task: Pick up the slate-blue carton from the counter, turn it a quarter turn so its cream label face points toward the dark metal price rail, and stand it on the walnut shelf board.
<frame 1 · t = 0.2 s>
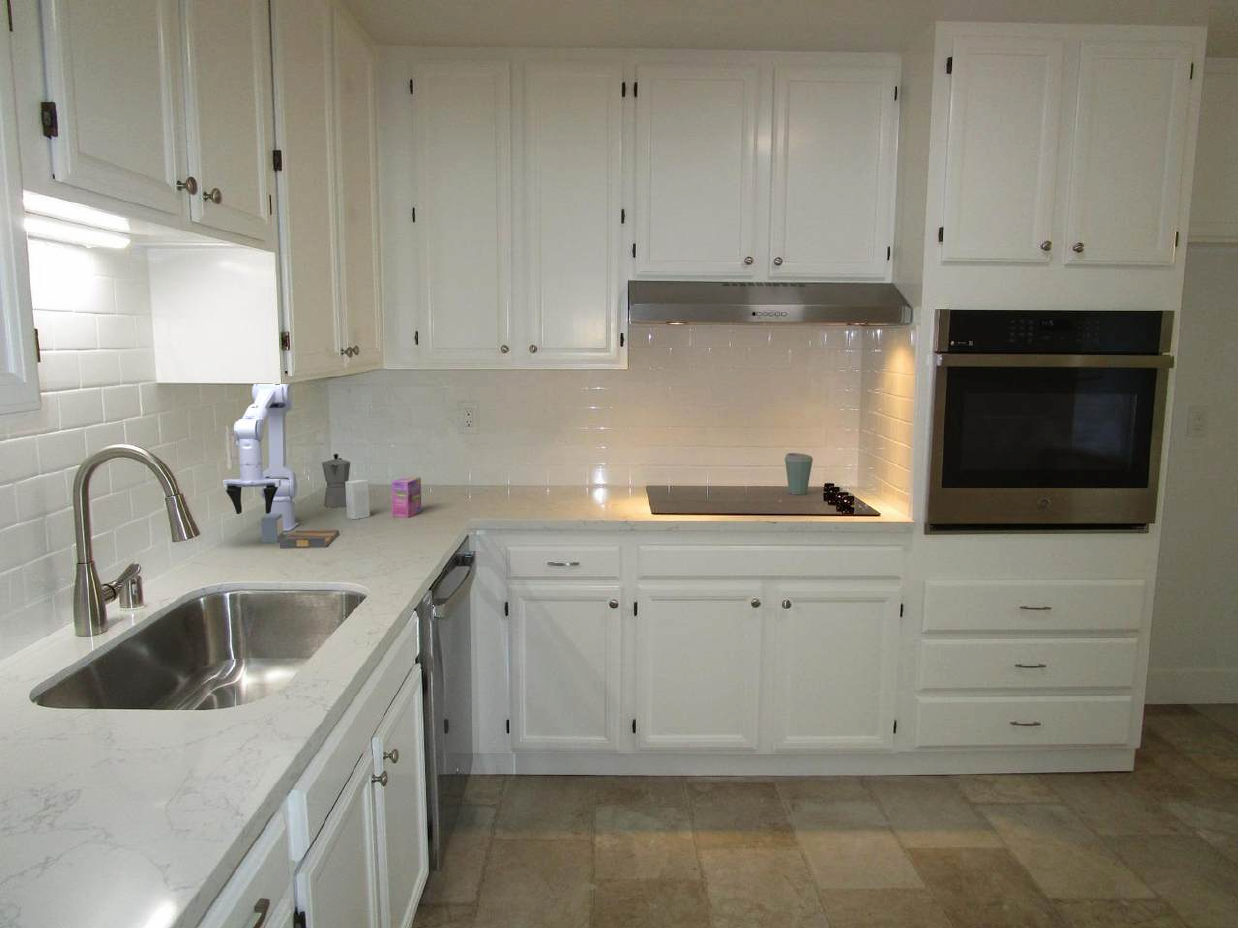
hand: (253, 513, 233), 10 cm above the countertop, tool pointing down, fingers open, 7 cm apart
coffeepot: (338, 505, 297), on the countertop
carton: (273, 539, 244), on the countertop
box: (407, 515, 281), on the countertop
shelf board: (311, 540, 244), on the countertop
skincare box: (358, 518, 276), on the countertop
disposable coffee cup: (797, 494, 325), on the countertop
price rail: (303, 547, 235), on the countertop
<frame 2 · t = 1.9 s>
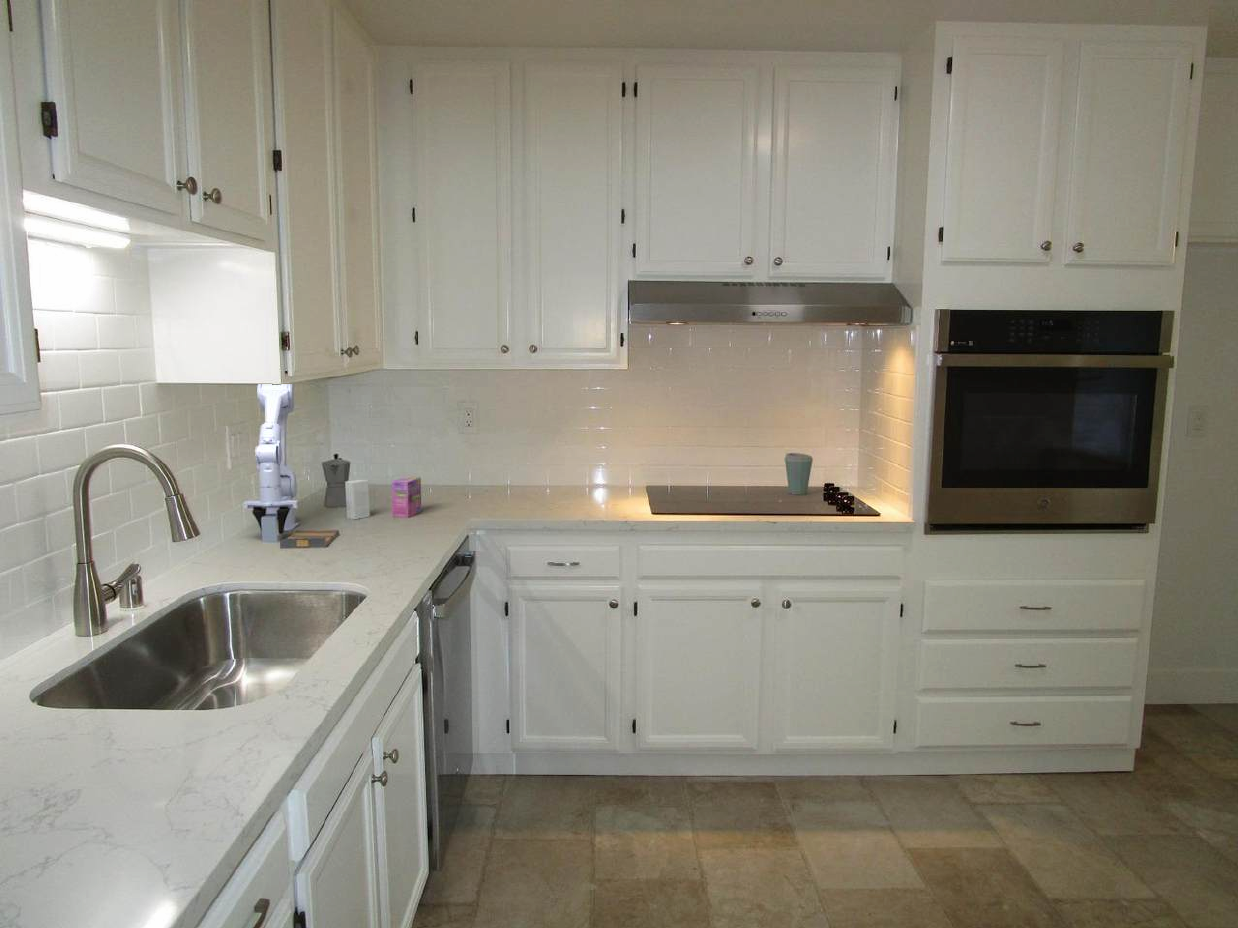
hand: (272, 533, 244), 2 cm above the countertop, tool pointing down, fingers closed on carton, 4 cm apart
carton: (272, 539, 244), on the countertop, touching gripper
everything else where it was.
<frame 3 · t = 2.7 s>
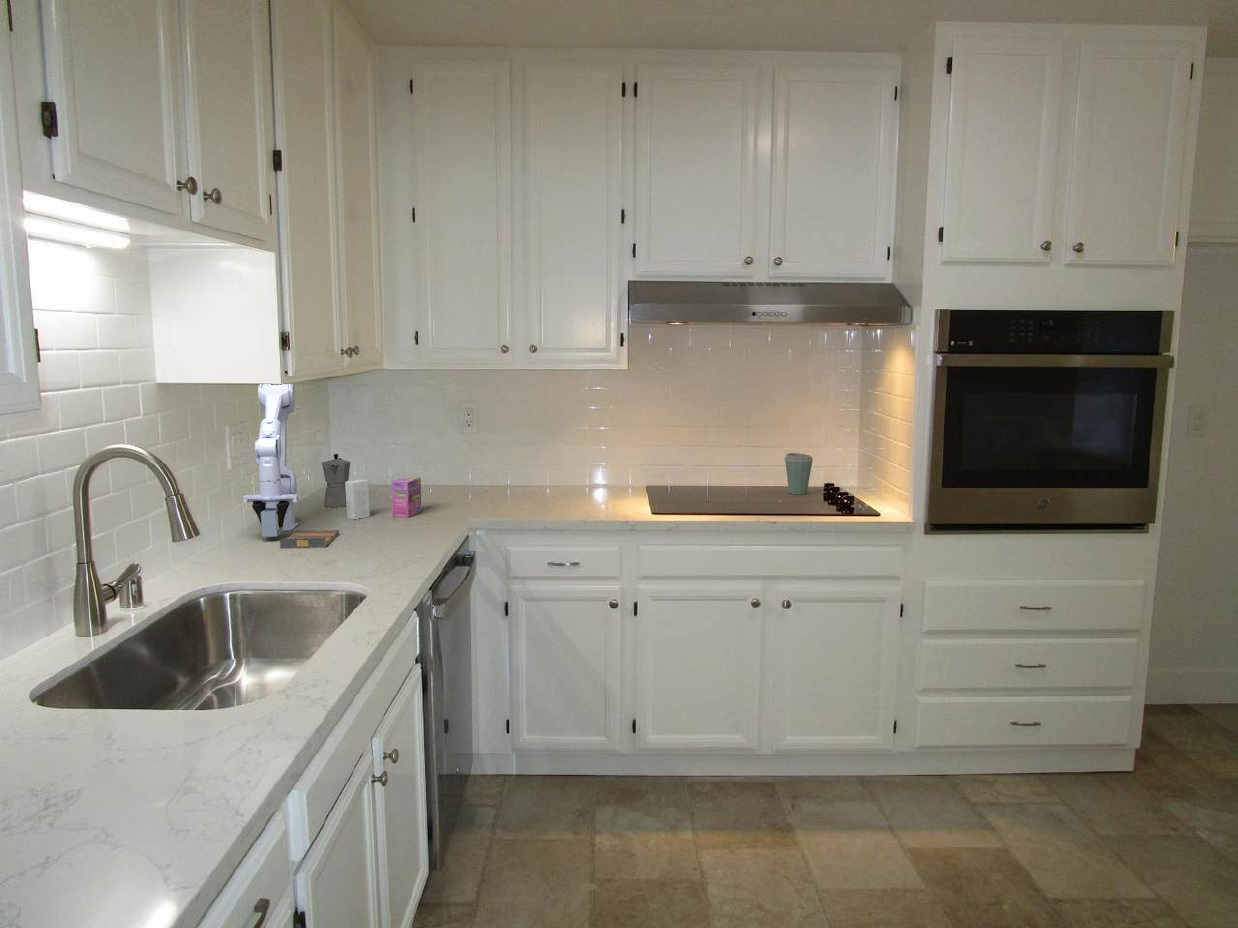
hand: (272, 527, 244), 4 cm above the countertop, tool pointing down, fingers closed on carton, 4 cm apart
carton: (272, 534, 244), point 2 cm above the countertop, touching gripper
everything else where it was.
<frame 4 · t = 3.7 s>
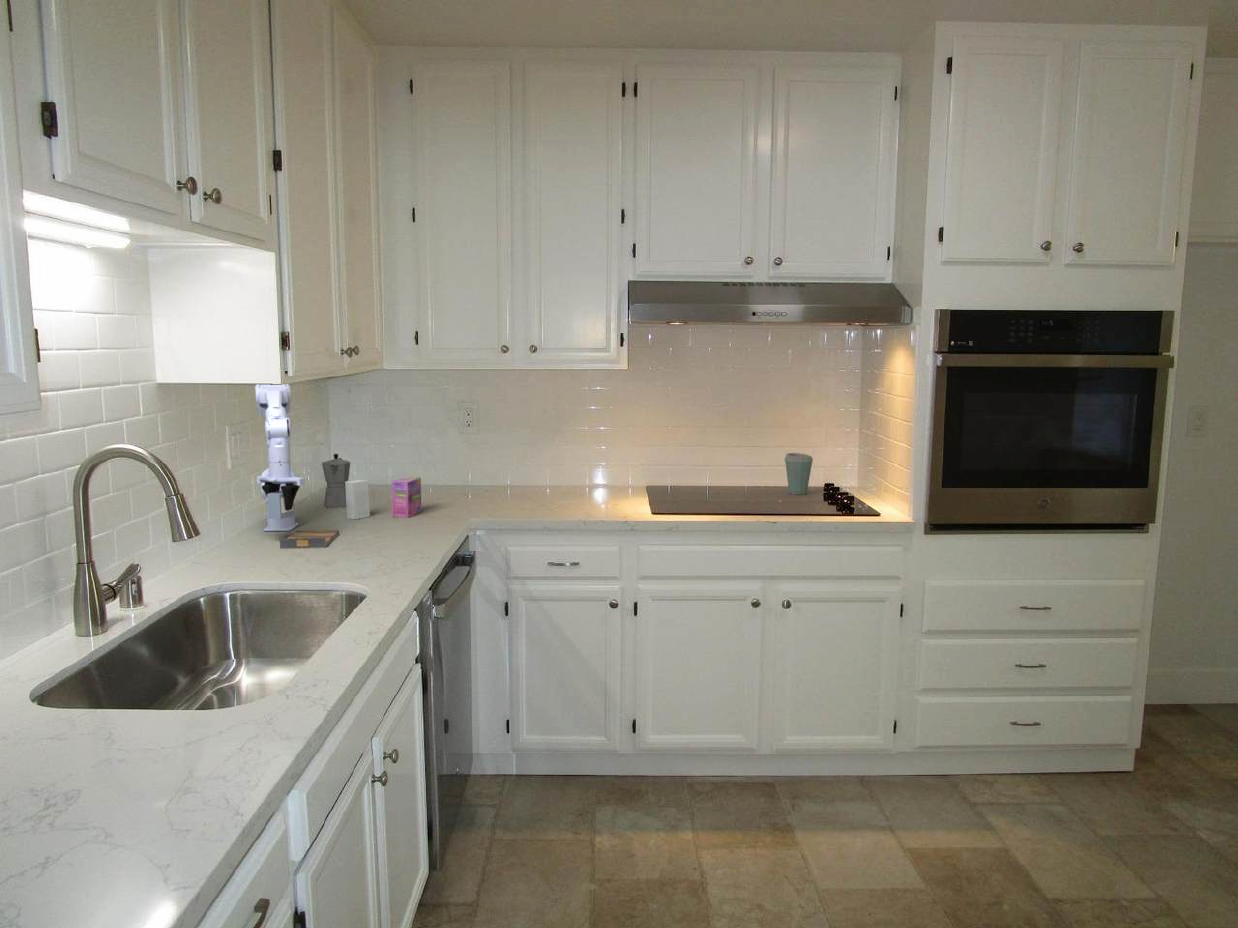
hand: (281, 509, 243), 9 cm above the countertop, tool pointing down, fingers closed on carton, 4 cm apart
carton: (281, 516, 243), point 7 cm above the countertop, touching gripper
everything else where it was.
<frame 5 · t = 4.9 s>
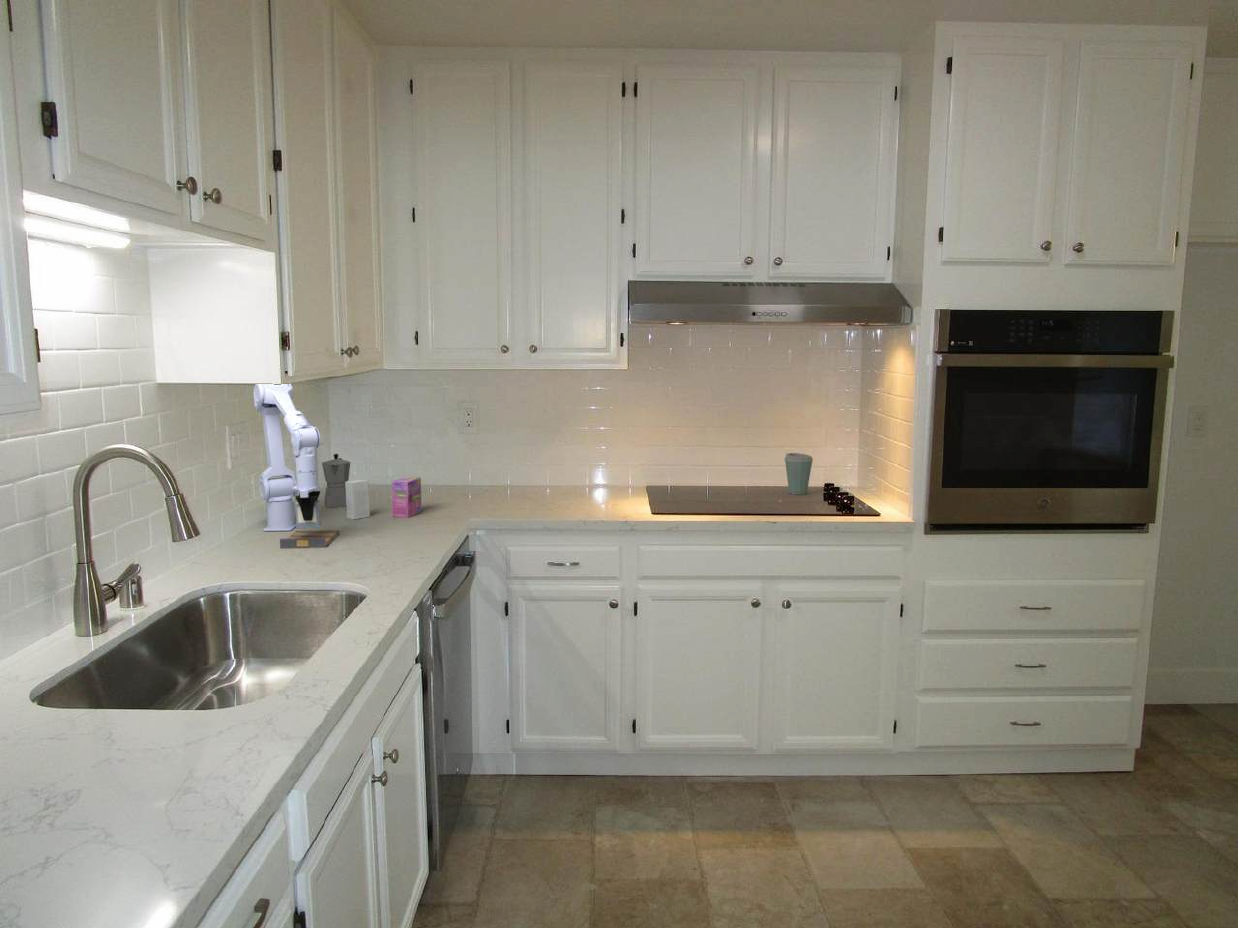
hand: (309, 518, 242), 7 cm above the countertop, tool pointing down, fingers closed on carton, 4 cm apart
carton: (308, 526, 242), point 4 cm above the countertop, touching gripper
everything else where it was.
when the fingers open (4 cm above the countertop, at t = 5.7 s): carton stays where it is, resting on shelf board.
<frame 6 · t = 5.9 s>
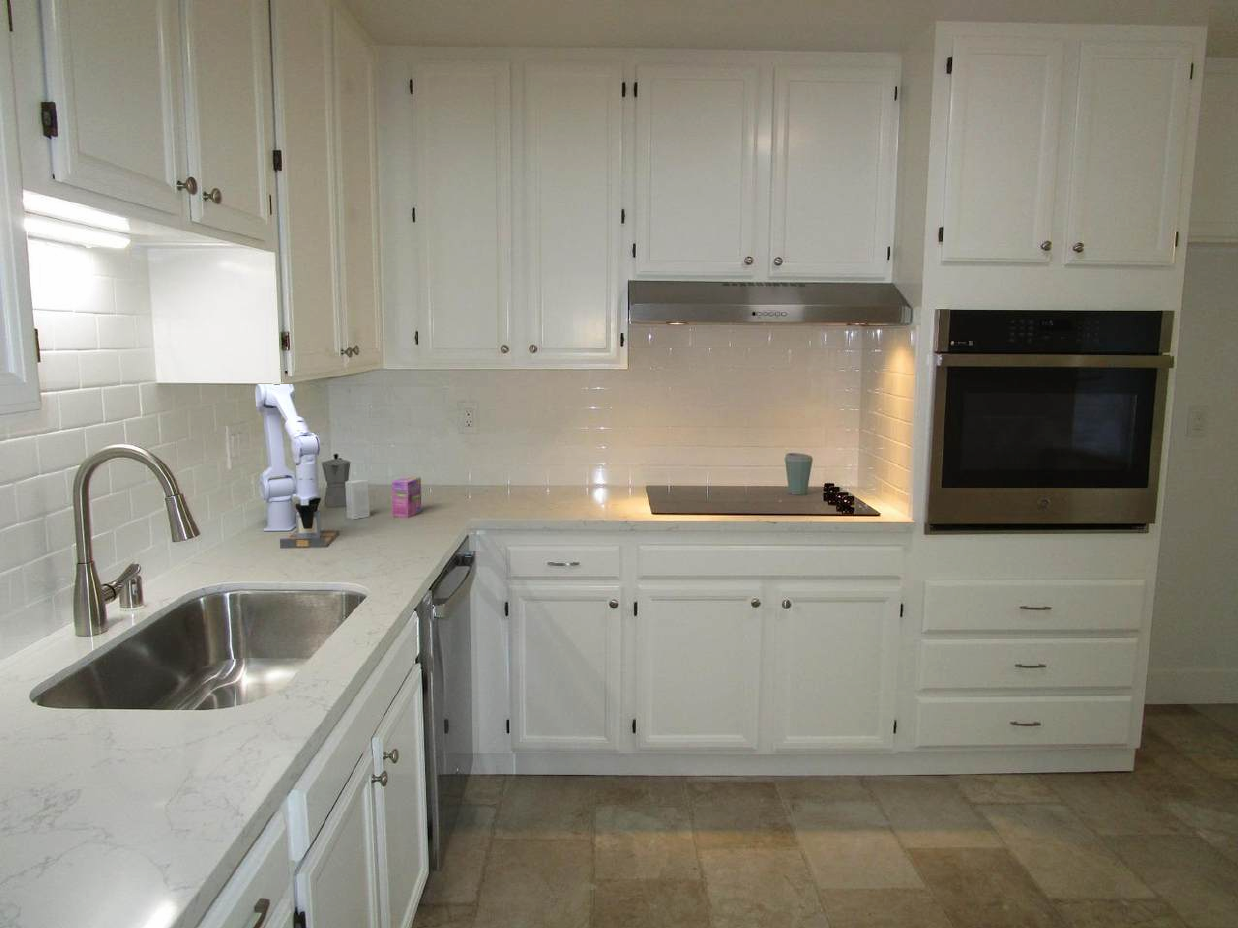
hand: (309, 526, 242), 4 cm above the countertop, tool pointing down, fingers open, 6 cm apart
carton: (309, 537, 243), point 1 cm above the countertop, touching shelf board
everything else where it was.
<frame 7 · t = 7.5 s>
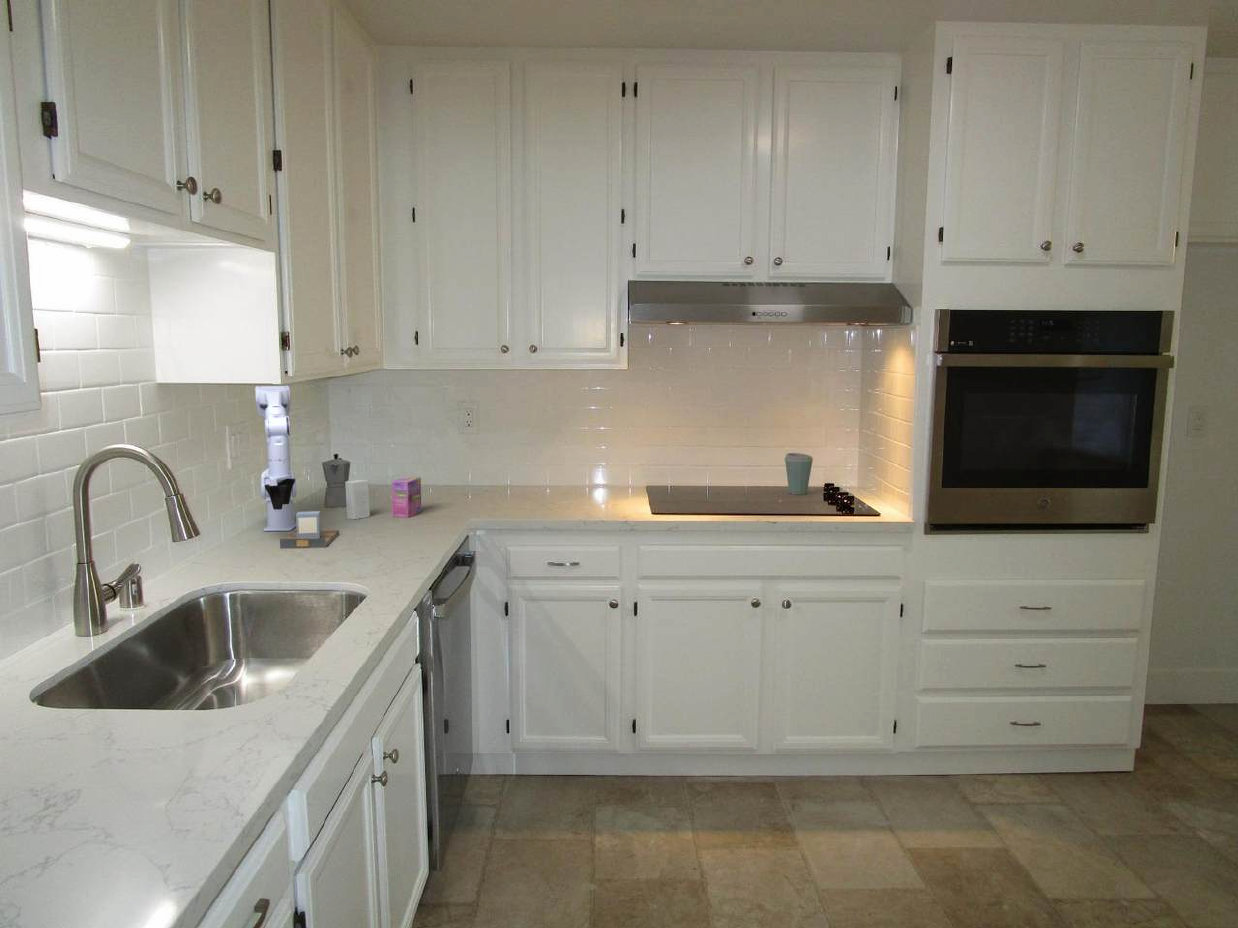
hand: (281, 506, 244), 9 cm above the countertop, tool pointing down, fingers open, 7 cm apart
nothing on the countertop moved.
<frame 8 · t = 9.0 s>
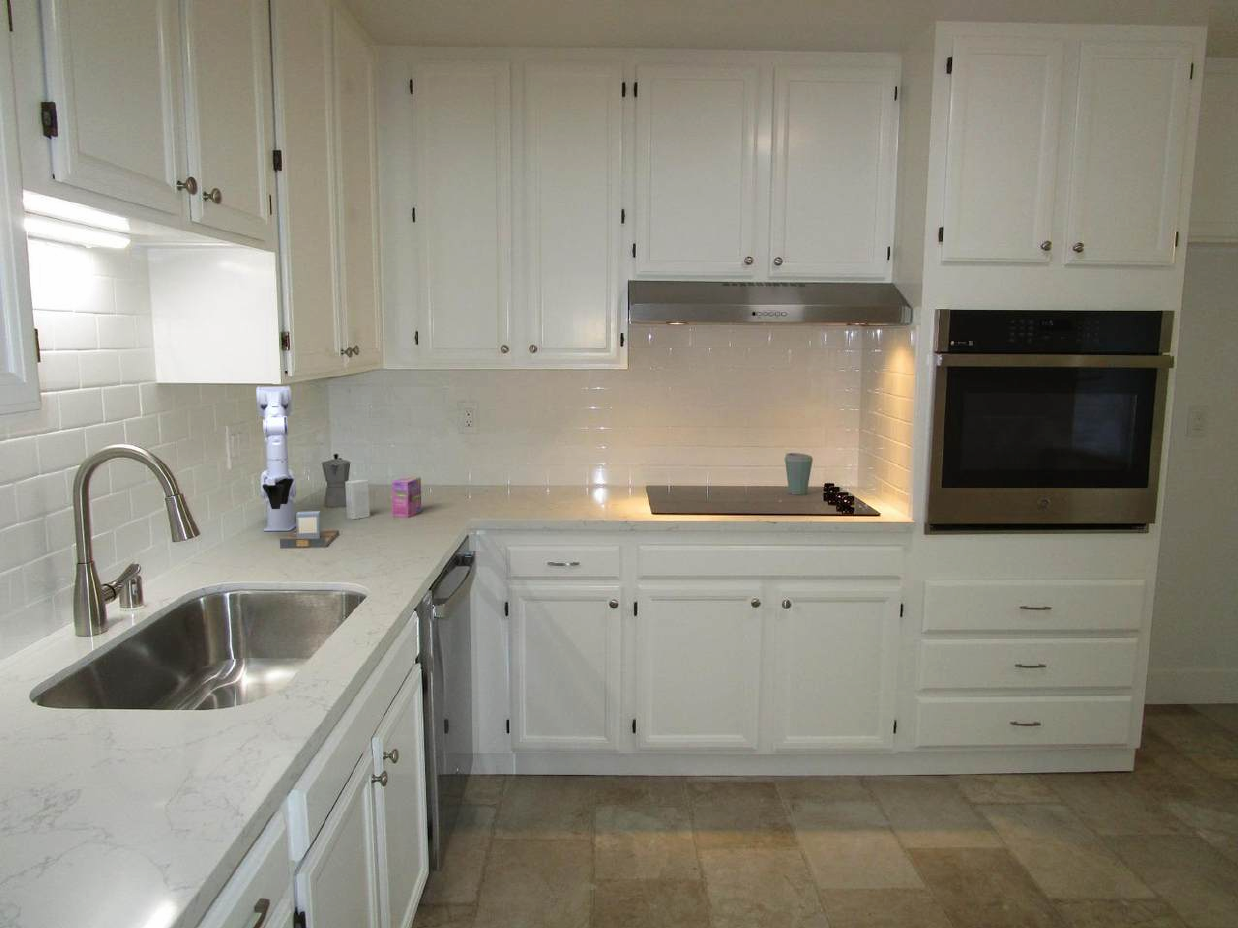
hand: (279, 506, 244), 9 cm above the countertop, tool pointing down, fingers open, 7 cm apart
nothing on the countertop moved.
at the end: carton inside the target area (0.5 cm from its centre), point 1.2 cm above the countertop; carton tilted 0°; the gripper is holding nothing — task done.
